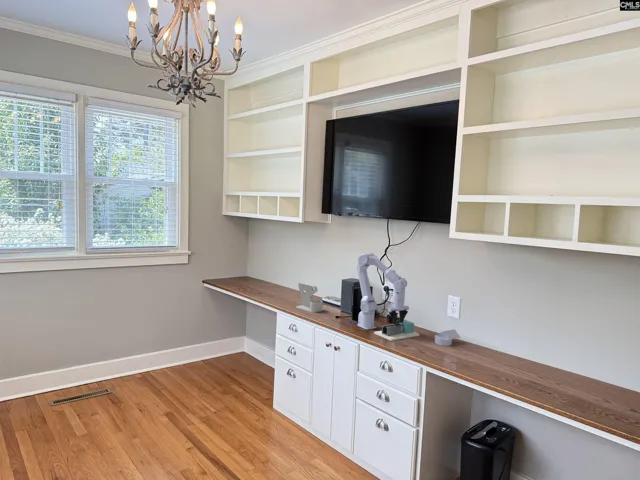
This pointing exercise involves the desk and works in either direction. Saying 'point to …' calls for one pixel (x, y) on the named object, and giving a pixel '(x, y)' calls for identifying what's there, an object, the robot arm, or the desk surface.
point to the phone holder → (309, 298)
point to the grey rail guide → (391, 329)
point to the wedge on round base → (446, 337)
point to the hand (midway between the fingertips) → (397, 323)
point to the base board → (398, 336)
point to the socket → (407, 326)
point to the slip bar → (401, 325)
